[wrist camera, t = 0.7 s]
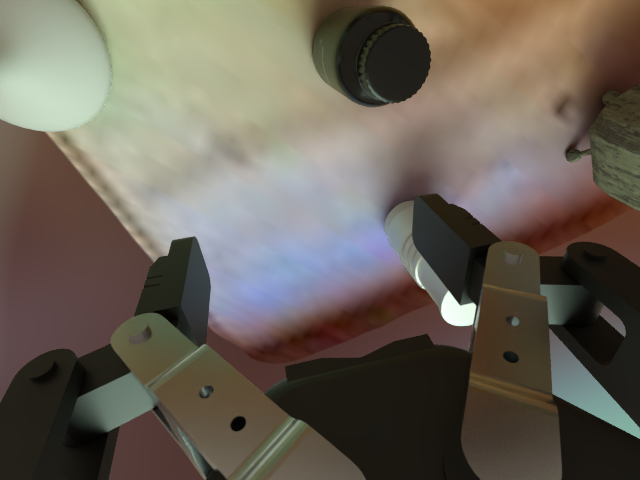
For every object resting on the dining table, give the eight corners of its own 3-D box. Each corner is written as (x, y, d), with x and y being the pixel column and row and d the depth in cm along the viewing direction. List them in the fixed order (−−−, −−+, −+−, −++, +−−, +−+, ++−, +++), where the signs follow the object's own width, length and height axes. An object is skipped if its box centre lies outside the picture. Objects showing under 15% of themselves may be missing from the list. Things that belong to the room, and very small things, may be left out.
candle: (370, 235, 45) (425, 317, 32) (401, 188, 42) (474, 258, 30) (410, 252, 48) (475, 333, 35) (441, 209, 45) (524, 280, 33)
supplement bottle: (296, 57, 33) (326, 73, 23) (343, -12, 31) (400, -28, 21) (349, 105, 36) (396, 137, 26) (395, 45, 34) (465, 55, 24)
